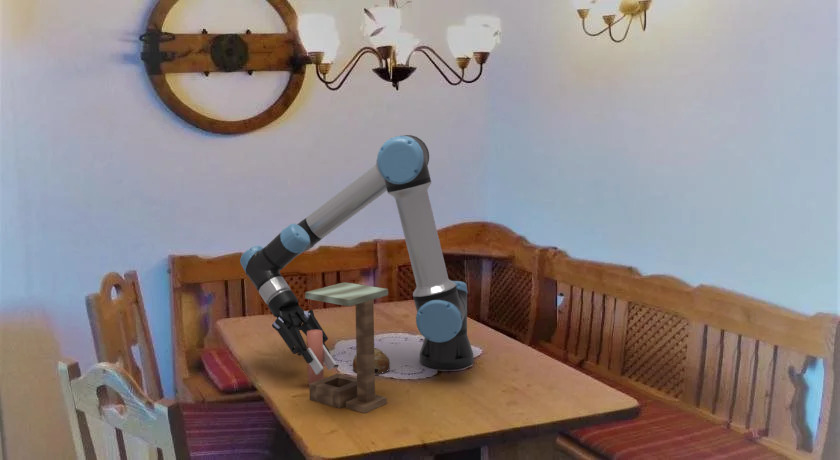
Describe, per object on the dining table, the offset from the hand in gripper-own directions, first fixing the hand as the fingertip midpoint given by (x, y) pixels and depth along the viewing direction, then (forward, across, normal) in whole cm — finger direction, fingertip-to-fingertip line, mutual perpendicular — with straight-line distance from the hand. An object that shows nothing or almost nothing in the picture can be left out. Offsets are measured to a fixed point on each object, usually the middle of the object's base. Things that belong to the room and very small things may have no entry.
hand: (326, 369), depth 205 cm
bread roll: (+4, -18, -4) cm, 18 cm away
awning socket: (+12, +4, +5) cm, 13 cm away
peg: (+1, 0, -6) cm, 6 cm away
